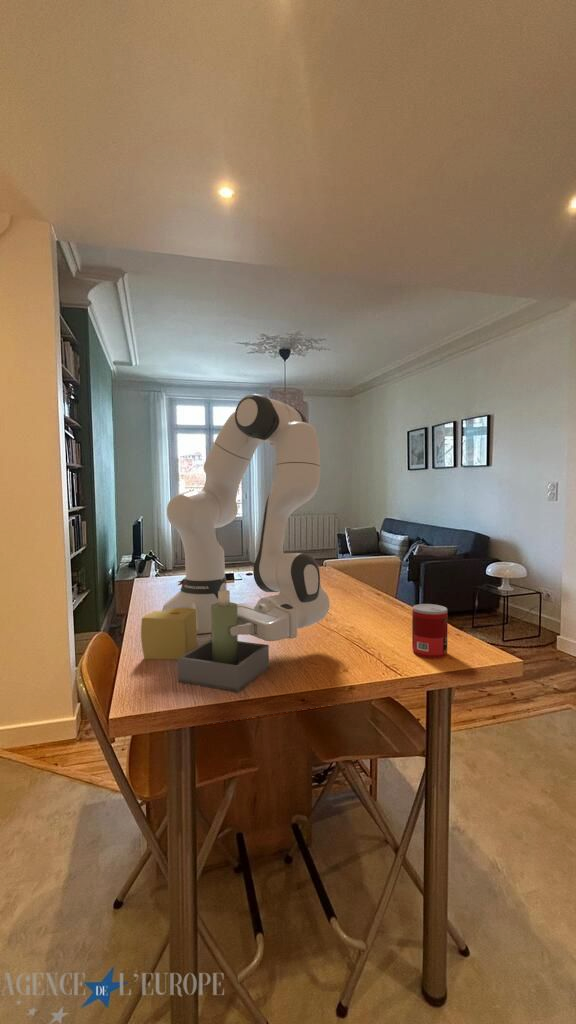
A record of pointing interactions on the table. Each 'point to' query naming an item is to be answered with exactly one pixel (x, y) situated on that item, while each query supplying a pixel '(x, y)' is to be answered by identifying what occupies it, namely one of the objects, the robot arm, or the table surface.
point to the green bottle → (224, 630)
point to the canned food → (429, 630)
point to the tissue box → (168, 633)
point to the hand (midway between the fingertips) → (221, 627)
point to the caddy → (223, 667)
